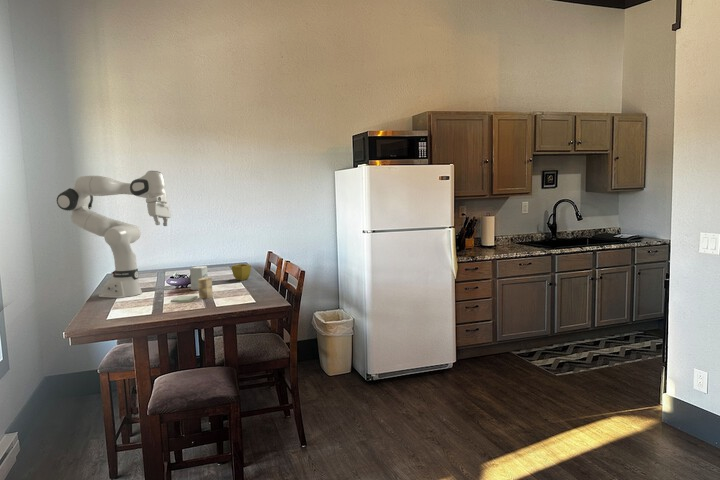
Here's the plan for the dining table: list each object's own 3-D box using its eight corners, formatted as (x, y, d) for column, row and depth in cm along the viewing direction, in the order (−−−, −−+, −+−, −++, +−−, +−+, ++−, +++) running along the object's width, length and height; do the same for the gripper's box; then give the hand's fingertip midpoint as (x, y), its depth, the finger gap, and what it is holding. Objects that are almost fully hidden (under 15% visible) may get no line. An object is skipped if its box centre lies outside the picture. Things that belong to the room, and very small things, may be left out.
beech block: (199, 298, 286) (197, 279, 285) (204, 296, 291) (203, 277, 290) (207, 298, 285) (206, 279, 284) (212, 296, 290) (211, 278, 289)
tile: (171, 302, 280) (170, 300, 280) (179, 297, 289) (179, 295, 289) (189, 301, 278) (189, 300, 278) (197, 297, 288) (197, 295, 288)
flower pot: (252, 278, 337) (251, 264, 336) (242, 281, 330) (241, 266, 329) (242, 277, 342) (241, 263, 341) (231, 280, 335) (230, 266, 334)
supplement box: (202, 290, 308) (201, 268, 307) (190, 289, 310) (189, 268, 308) (208, 287, 315) (207, 265, 314) (197, 287, 317) (195, 266, 315)
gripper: (161, 203, 303) (164, 227, 302) (144, 199, 282) (147, 225, 282) (171, 201, 302) (175, 225, 302) (155, 197, 282) (159, 223, 281)
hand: (161, 225), depth 292 cm, fingers open, 8 cm apart
